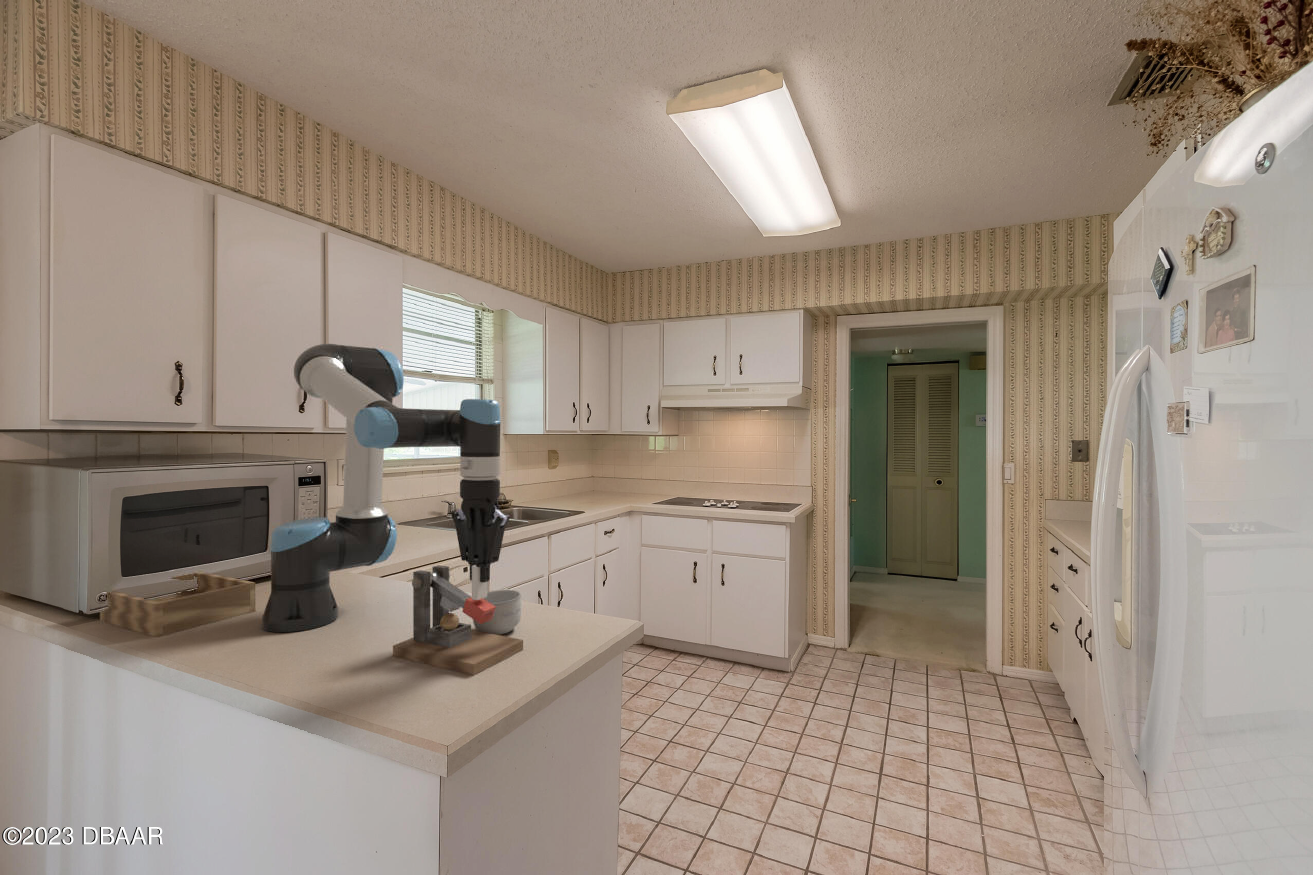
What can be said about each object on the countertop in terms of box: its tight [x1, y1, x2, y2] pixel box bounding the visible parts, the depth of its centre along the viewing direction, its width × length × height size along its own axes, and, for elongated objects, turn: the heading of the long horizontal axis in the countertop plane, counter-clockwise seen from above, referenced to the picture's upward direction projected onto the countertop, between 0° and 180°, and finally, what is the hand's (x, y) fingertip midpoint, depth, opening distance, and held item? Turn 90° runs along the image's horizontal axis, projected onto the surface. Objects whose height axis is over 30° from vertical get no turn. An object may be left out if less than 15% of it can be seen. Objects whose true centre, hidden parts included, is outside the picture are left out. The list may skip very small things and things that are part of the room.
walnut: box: [440, 612, 460, 631], centre depth 120 cm, size 4×4×4 cm
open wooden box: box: [99, 571, 256, 638], centre depth 142 cm, size 24×20×7 cm
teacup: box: [472, 587, 522, 636], centre depth 134 cm, size 14×11×8 cm
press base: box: [392, 564, 524, 676], centre depth 119 cm, size 21×14×16 cm, turn 64°
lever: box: [430, 571, 496, 624], centre depth 119 cm, size 17×3×5 cm, turn 65°
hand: (479, 597), depth 117 cm, fingers closed
